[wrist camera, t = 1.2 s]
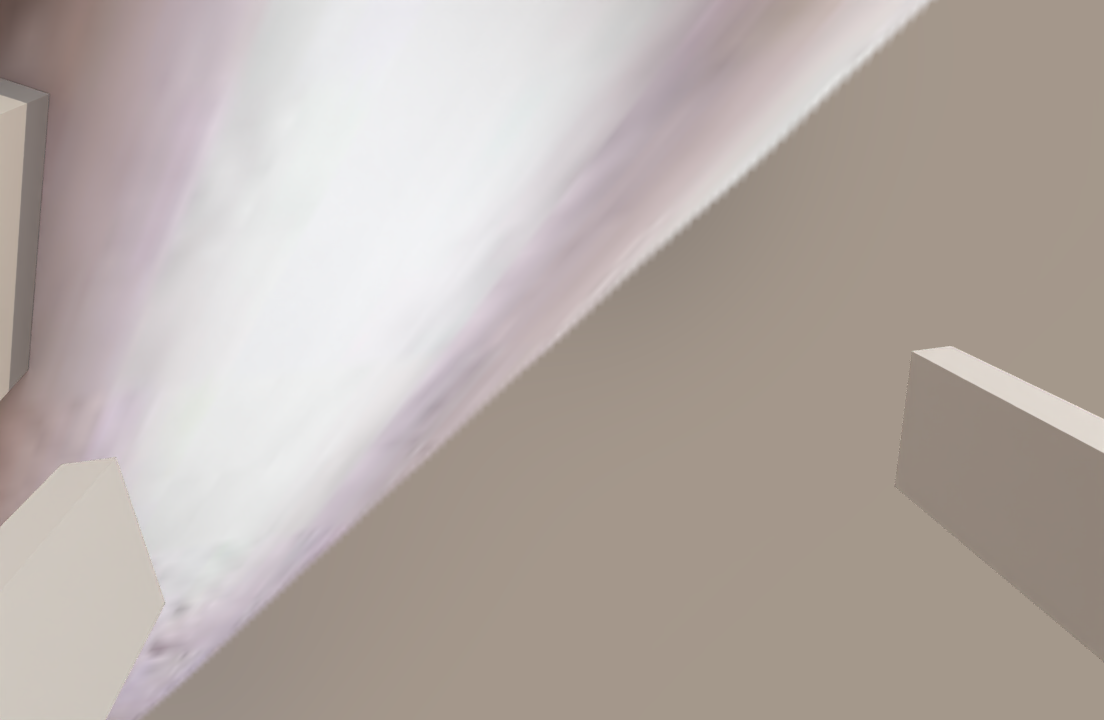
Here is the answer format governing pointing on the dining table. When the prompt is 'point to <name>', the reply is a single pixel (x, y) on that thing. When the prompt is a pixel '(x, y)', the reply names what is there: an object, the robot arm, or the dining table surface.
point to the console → (19, 221)
